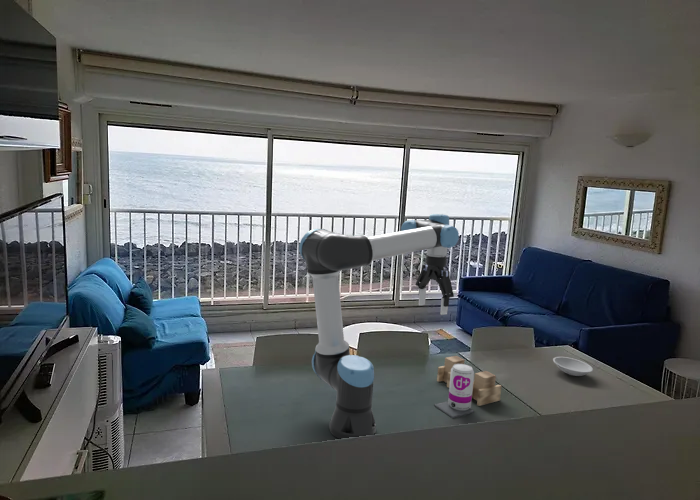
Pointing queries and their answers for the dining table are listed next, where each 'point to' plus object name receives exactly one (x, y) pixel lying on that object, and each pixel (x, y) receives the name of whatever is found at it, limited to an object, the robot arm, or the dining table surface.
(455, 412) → the mat
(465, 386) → the supplement can
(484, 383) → the rack
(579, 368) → the dish
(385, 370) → the dining table surface
